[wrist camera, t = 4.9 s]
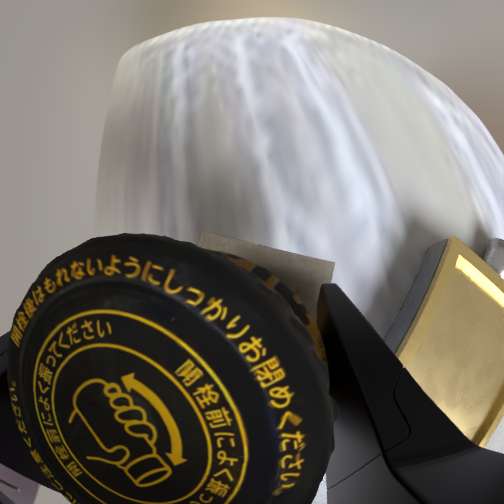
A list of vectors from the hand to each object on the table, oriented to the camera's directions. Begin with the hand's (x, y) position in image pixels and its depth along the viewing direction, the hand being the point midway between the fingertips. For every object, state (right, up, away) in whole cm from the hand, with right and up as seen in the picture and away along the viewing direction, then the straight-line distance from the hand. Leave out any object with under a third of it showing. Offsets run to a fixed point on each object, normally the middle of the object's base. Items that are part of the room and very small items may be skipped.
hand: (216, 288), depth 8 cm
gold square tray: (+19, -6, +11) cm, 23 cm away
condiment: (+1, -3, +6) cm, 7 cm away
